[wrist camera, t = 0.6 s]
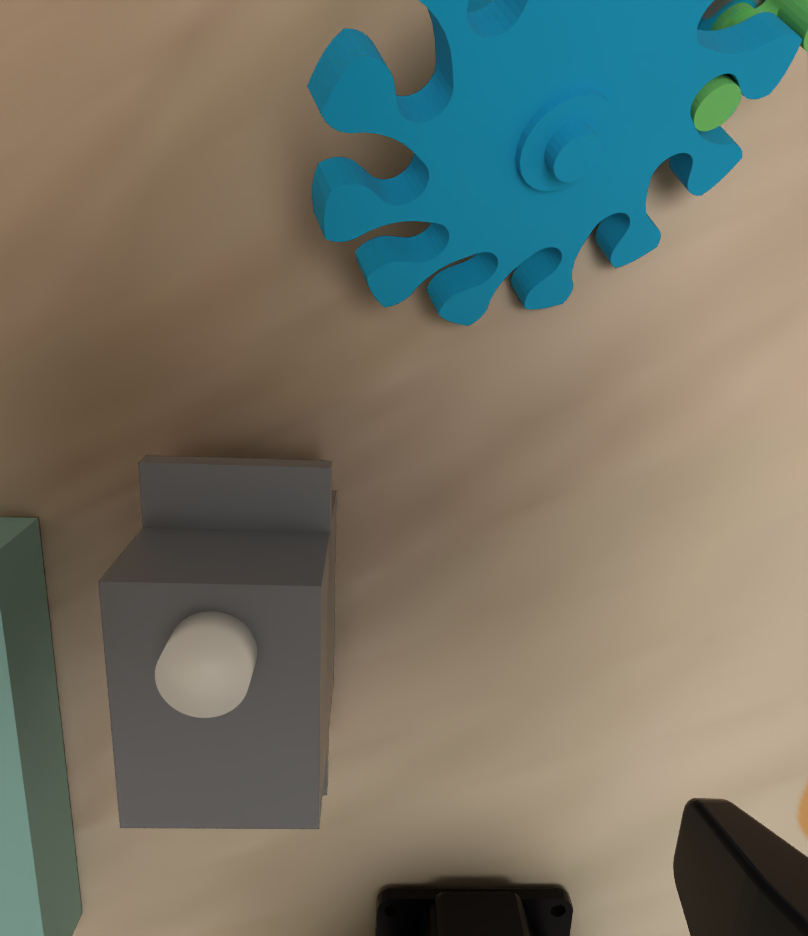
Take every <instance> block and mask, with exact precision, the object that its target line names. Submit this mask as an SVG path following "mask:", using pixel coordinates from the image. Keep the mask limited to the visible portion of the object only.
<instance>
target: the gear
mask: <svg viewBox="0 0 808 936" xmlns="http://www.w3.org/2000/svg"><path fill="white" fill-rule="evenodd" d="M419 1H420V2H421V3H423V4H424V5H425V6H427V8H428V11H429V14H430V17H431V20H432V24H433V30H434V37H435V49H436V67H435V71H434V74H433V76H432V78H431V80H430V81H429V82H428V84H427V85H426V86H425V87H424V88H423V89H421V90H420V91H418V92H417V93H415V94H412V95H409V96H398V95H396V92H395V85H394V80H393V76H392V74H391V72H390V70H389V69H388V67H387V65H386V64H385V62H384V60H383V59H382V57H381V55H380V53H379V52H378V50H377V48H376V47H375V45H374V43H373V42H372V41H371V40H370V38H369V37H368V36H367V35H365V34H363V33H362V32H360V31H357V30H354V29H345V28H344V29H343V30H342V31H341V32H340V33H339V34H338V35H337V36H336V37H335V38H334V39H333V40H332V41H331V43H330V44H329V45H328V47H327V48H326V50H325V51H324V53H323V54H322V56H321V58H320V60H319V62H318V63H317V65H316V67H315V70H314V72H313V74H312V76H311V78H310V81H309V83H308V85H307V87H308V89H309V91H310V93H311V95H312V97H313V99H314V101H315V103H316V105H317V107H318V109H319V111H320V113H321V115H322V117H323V118H324V120H325V122H326V123H328V124H329V125H330V126H331V127H332V128H334V129H336V130H338V131H340V132H345V133H361V132H366V133H375V134H381V135H384V136H387V137H391V138H393V139H395V140H397V141H399V142H401V143H403V144H404V145H406V146H407V147H408V148H409V149H410V150H412V151H413V152H414V156H413V159H412V161H411V163H410V165H409V166H408V167H407V169H406V170H405V171H403V172H402V173H401V174H399V175H398V176H396V177H393V178H390V179H378V178H375V177H373V176H371V175H370V174H369V173H368V172H367V171H366V170H364V169H363V168H362V167H361V166H360V165H359V164H358V163H356V162H355V161H354V160H351V159H349V158H344V157H334V158H329V159H326V160H324V161H322V162H320V163H318V166H317V168H316V171H315V173H314V178H313V184H312V200H313V211H314V214H315V216H316V218H317V221H318V223H319V225H320V228H321V230H322V232H323V235H324V237H325V239H327V240H330V241H334V242H344V241H349V240H352V239H355V238H357V237H359V236H361V235H363V234H365V233H366V232H368V231H371V230H373V229H376V228H378V227H381V226H384V225H388V224H391V223H395V222H404V221H422V222H430V223H431V224H430V226H429V227H428V228H427V229H426V230H425V231H423V232H422V233H420V234H418V235H416V236H413V237H395V236H380V237H376V238H373V239H370V240H368V241H367V242H365V243H364V244H362V245H361V246H360V247H359V248H358V249H357V250H356V251H355V253H356V259H357V262H358V264H359V266H360V268H361V271H362V273H363V275H364V277H365V279H366V282H367V284H368V286H369V288H370V290H371V292H372V294H373V295H374V297H375V298H376V299H377V300H378V301H379V303H380V304H381V305H382V306H383V307H389V306H393V305H395V304H398V303H400V302H402V301H403V300H405V299H406V298H407V297H409V296H410V295H411V294H412V293H413V291H414V290H415V289H416V288H417V287H418V286H419V285H420V284H421V283H422V282H423V281H424V280H426V279H427V278H428V277H429V276H431V275H432V274H433V273H435V272H436V271H438V270H439V269H441V268H443V267H445V266H447V265H448V264H451V263H453V262H455V261H458V260H460V259H463V258H466V257H468V256H471V255H474V254H476V255H475V256H474V257H472V258H471V259H469V260H467V261H465V262H462V263H459V264H457V265H454V266H451V267H448V268H446V269H444V270H442V271H441V272H439V273H438V274H437V275H436V276H434V277H433V279H432V280H431V281H430V283H429V284H428V286H427V289H426V291H427V293H428V295H429V296H430V298H431V300H432V302H433V304H434V306H435V308H436V310H437V312H438V314H439V315H440V316H441V317H442V318H443V319H445V320H447V321H449V322H453V323H456V324H462V325H467V326H469V325H471V324H472V323H474V322H475V321H477V320H478V319H479V318H480V317H481V316H482V315H483V314H484V313H485V311H486V310H487V308H488V305H489V302H490V300H491V298H492V296H493V294H494V292H495V290H496V289H497V288H498V286H499V285H500V284H501V282H502V281H503V280H504V279H505V278H506V277H507V276H508V275H509V274H510V273H511V272H512V271H513V270H514V269H515V268H516V267H517V269H516V270H515V271H514V273H513V275H512V278H511V285H512V287H513V289H514V291H515V292H516V294H517V296H518V297H519V299H520V301H521V303H522V304H523V306H524V308H525V309H542V308H548V307H552V306H556V305H560V304H563V303H564V302H565V301H566V300H567V298H568V297H569V295H570V294H571V292H572V289H573V281H572V269H573V265H574V261H575V259H576V257H577V254H578V252H579V250H580V249H581V247H582V245H583V244H584V242H585V241H586V239H587V238H588V236H589V235H590V233H591V232H592V230H593V229H594V228H595V227H596V225H597V224H598V223H599V222H600V221H602V222H601V223H600V225H599V227H598V228H597V231H596V235H595V239H596V242H597V244H598V245H599V247H600V248H601V250H602V251H603V252H604V254H605V255H606V257H607V258H608V260H609V261H610V262H611V264H612V265H613V266H614V267H615V268H617V267H620V266H623V265H626V264H628V263H630V262H632V261H634V260H636V259H638V258H640V257H641V256H643V255H645V254H646V253H648V252H650V251H651V250H653V249H654V248H656V247H657V245H658V243H659V241H660V237H661V234H660V231H659V229H658V228H657V226H656V225H655V224H654V223H653V221H652V220H651V219H650V217H649V216H648V215H647V213H646V206H645V203H646V196H647V191H648V187H649V183H650V179H651V176H652V175H653V173H654V171H655V170H656V169H657V167H658V166H659V165H660V164H661V163H662V162H664V161H665V160H666V159H668V158H669V157H670V160H669V166H670V168H671V170H672V171H673V173H674V174H675V175H676V176H677V177H678V179H679V180H680V181H681V182H682V184H683V185H684V186H685V187H686V188H687V190H688V191H689V192H690V193H691V194H693V195H703V194H704V193H705V192H707V191H708V190H710V189H711V188H712V187H713V186H715V185H716V184H717V183H718V182H719V181H720V180H721V179H722V178H723V177H724V176H725V175H726V174H727V173H728V172H729V171H730V170H731V169H732V168H733V167H734V166H735V165H736V164H737V163H738V162H739V161H740V159H741V158H742V150H741V148H740V147H739V146H738V145H737V144H736V143H735V141H734V140H733V139H732V138H731V137H730V136H729V135H728V134H727V133H726V132H725V131H724V130H723V128H722V127H721V126H720V125H721V124H722V123H724V122H725V121H726V120H727V119H728V118H729V117H730V116H731V115H732V114H733V112H734V111H735V110H736V108H737V106H738V104H739V102H740V99H741V94H742V95H743V96H745V97H746V98H748V99H759V98H762V97H765V96H767V95H769V94H770V93H771V92H772V90H773V89H774V88H775V87H776V86H777V84H778V83H779V82H780V80H781V79H782V77H783V76H784V74H785V73H786V71H787V69H788V67H789V66H790V64H791V62H792V60H793V58H794V56H795V54H796V52H797V50H798V48H799V46H801V47H802V48H803V49H805V50H806V51H807V52H808V0H419Z"/></svg>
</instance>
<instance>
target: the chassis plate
mask: <svg viewBox="0 0 808 936" xmlns="http://www.w3.org/2000/svg"><path fill="white" fill-rule="evenodd" d="M81 914H82V907H81V898H80V889H79V880H78V871H77V862H76V853H75V844H74V835H73V826H72V817H71V808H70V799H69V790H68V781H67V772H66V763H65V754H64V745H63V736H62V727H61V718H60V709H59V700H58V691H57V682H56V673H55V664H54V655H53V646H52V637H51V628H50V619H49V610H48V601H47V592H46V583H45V574H44V566H43V557H42V548H41V539H40V530H39V521H38V518H25V517H0V936H72V935H73V932H74V930H75V928H76V926H77V923H78V921H79V919H80V916H81Z"/></svg>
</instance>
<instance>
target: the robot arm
mask: <svg viewBox="0 0 808 936" xmlns="http://www.w3.org/2000/svg"><path fill="white" fill-rule="evenodd" d="M673 870H674V879H675V884H676V888H677V891H678V894H679V898H680V901H681V905H682V908H683V911H684V915H685V918H686V921H687V925H688V928H689V932H690V935H691V936H808V857H807V856H805V855H804V854H803V853H801V852H800V851H798V850H797V849H796V848H794V847H793V846H791V845H790V844H789V843H787V842H786V841H784V840H783V839H782V838H780V837H779V836H777V835H776V834H775V833H773V832H772V831H771V830H769V829H768V828H766V827H765V826H764V825H762V824H761V823H759V822H758V821H757V820H755V819H754V818H752V817H751V816H750V815H748V814H747V813H745V812H744V811H743V810H741V809H740V808H738V807H737V806H736V805H734V804H733V803H731V802H729V801H727V800H724V799H708V798H693V799H691V800H689V801H688V802H687V804H686V805H685V808H684V811H683V815H682V820H681V825H680V830H679V835H678V840H677V845H676V850H675V855H674V862H673ZM388 905H396V906H388ZM555 905H559V906H555ZM572 914H573V907H572V903H571V900H570V896H569V895H568V893H567V892H566V891H564V890H562V889H412V888H392V889H386V890H384V891H382V892H381V893H380V894H379V895H378V898H377V908H376V934H375V936H570V929H571V921H572Z"/></svg>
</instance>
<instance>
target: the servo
mask: <svg viewBox="0 0 808 936" xmlns="http://www.w3.org/2000/svg"><path fill="white" fill-rule="evenodd" d="M138 464H139V479H140V493H141V508H142V523H143V528H142V529H141V530H140V532H139V533H138V534H137V535H136V536H135V538H134V539H133V540H132V541H131V543H130V544H129V545H128V546H127V547H126V549H125V550H124V551H123V552H122V554H121V555H120V556H119V557H118V558H117V560H116V561H115V562H114V563H113V565H112V566H111V567H110V568H109V569H108V571H107V572H106V573H105V574H104V576H103V577H102V578H101V579H100V580H99V593H100V605H101V616H102V628H103V639H104V650H105V662H106V673H107V685H108V696H109V707H110V719H111V730H112V741H113V753H114V764H115V776H116V787H117V798H118V810H119V821H120V828H221V829H319V825H320V815H321V805H322V795H327V786H328V746H329V722H330V712H331V702H332V691H333V681H334V624H335V558H336V491H332V461H325V460H291V459H256V458H221V457H187V456H152V455H146V456H145V457H144V458H143V459H142V460H141V461H140V462H138Z"/></svg>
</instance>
